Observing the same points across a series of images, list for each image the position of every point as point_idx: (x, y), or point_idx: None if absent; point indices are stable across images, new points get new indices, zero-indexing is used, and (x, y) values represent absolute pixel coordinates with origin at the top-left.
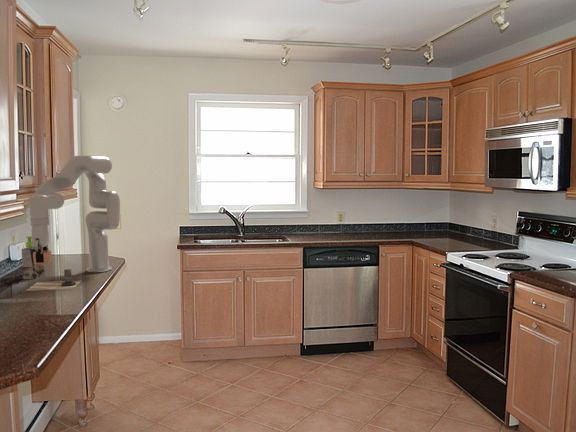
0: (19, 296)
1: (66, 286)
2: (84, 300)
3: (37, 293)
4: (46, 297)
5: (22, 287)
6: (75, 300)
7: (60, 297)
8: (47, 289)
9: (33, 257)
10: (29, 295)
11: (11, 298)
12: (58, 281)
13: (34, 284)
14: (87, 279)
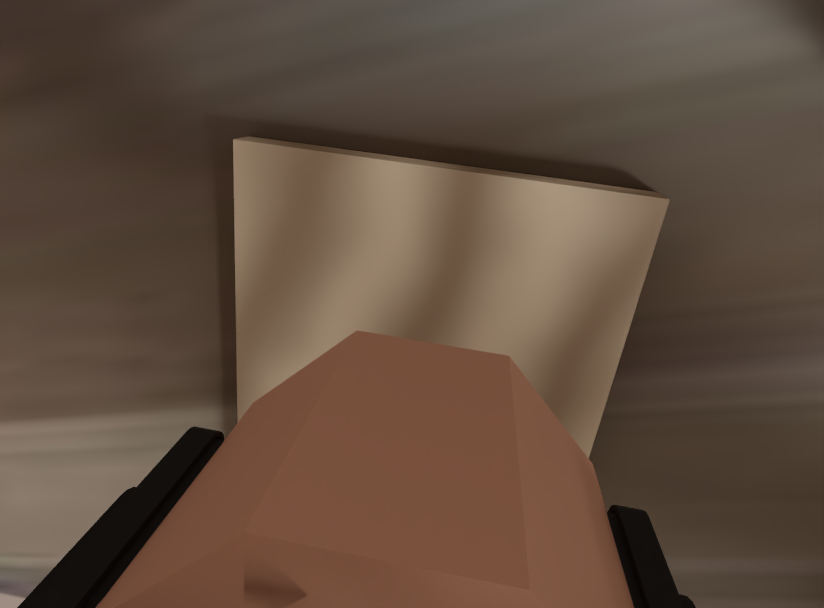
0: (149, 89)
1: None
2: (18, 572)
3: None
4: (100, 346)
5: (604, 16)
6: (16, 529)
7: (96, 442)
8: (246, 354)
9: (300, 422)
10: (181, 188)
11: (71, 17)
12: (591, 420)
13: (532, 186)
14: (706, 605)
